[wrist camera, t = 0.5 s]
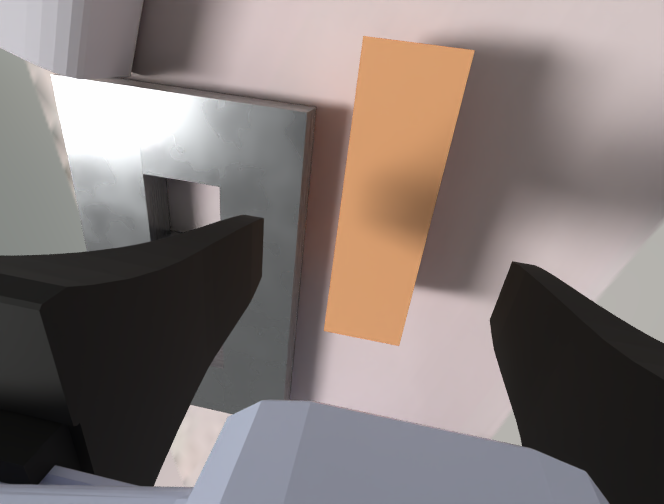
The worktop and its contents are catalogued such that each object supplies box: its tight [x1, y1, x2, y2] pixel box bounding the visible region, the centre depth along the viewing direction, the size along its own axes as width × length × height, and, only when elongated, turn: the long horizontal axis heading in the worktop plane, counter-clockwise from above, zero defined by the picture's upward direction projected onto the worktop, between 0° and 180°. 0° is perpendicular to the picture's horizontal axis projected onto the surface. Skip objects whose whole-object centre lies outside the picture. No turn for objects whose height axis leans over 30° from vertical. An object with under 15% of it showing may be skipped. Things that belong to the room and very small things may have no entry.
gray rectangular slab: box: [51, 74, 316, 414], centre depth 23 cm, size 20×12×2 cm, turn 173°
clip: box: [324, 36, 475, 346], centre depth 17 cm, size 12×4×5 cm, turn 173°
